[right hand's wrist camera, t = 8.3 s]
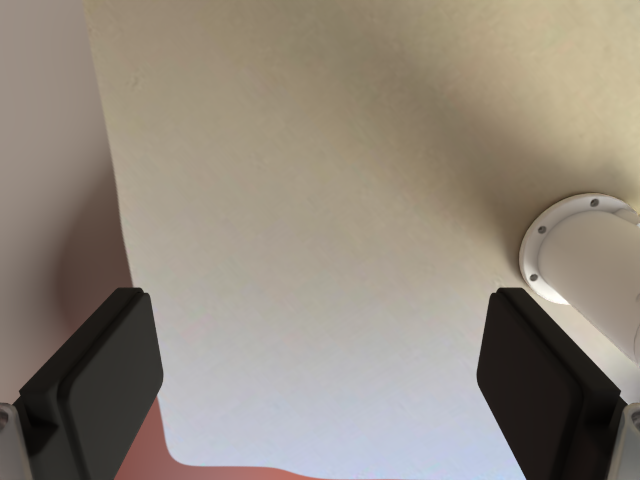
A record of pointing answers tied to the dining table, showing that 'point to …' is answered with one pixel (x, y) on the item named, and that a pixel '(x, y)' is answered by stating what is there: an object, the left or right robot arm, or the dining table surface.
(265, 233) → the dining table surface
